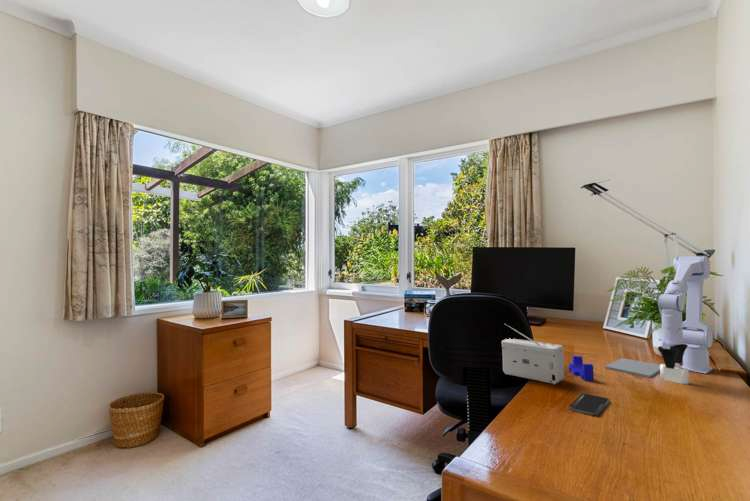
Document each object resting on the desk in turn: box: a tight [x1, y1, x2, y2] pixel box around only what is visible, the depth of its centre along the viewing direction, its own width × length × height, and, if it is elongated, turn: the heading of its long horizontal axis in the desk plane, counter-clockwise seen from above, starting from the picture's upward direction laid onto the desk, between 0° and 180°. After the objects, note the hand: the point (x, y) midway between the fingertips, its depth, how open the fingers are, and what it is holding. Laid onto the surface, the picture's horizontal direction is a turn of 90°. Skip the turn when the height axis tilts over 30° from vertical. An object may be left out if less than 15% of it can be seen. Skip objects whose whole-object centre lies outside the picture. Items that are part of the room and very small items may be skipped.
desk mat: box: [604, 358, 660, 379], centre depth 142 cm, size 17×15×1 cm
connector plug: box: [659, 363, 690, 385], centre depth 128 cm, size 3×8×6 cm, turn 35°
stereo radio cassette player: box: [500, 323, 565, 385], centre depth 136 cm, size 21×8×20 cm, turn 47°
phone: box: [568, 392, 611, 417], centre depth 109 cm, size 8×1×15 cm
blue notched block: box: [568, 355, 595, 382], centre depth 136 cm, size 12×4×6 cm, turn 169°
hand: (673, 366), depth 128 cm, fingers open, 7 cm apart
